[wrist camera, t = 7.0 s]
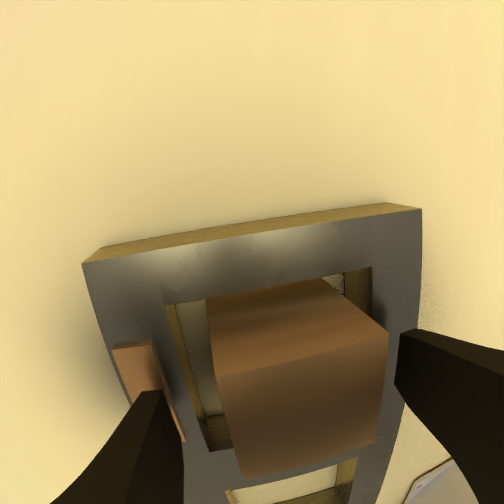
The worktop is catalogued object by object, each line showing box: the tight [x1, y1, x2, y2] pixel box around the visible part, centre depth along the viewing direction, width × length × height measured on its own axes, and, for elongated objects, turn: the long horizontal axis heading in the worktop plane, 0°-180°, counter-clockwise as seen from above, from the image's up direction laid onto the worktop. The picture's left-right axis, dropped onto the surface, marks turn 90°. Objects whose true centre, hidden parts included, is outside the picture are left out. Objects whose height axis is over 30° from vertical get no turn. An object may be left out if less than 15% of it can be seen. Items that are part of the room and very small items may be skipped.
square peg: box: [206, 277, 389, 480], centre depth 9 cm, size 4×4×4 cm
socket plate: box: [81, 203, 422, 504], centre depth 11 cm, size 18×10×2 cm, turn 8°
